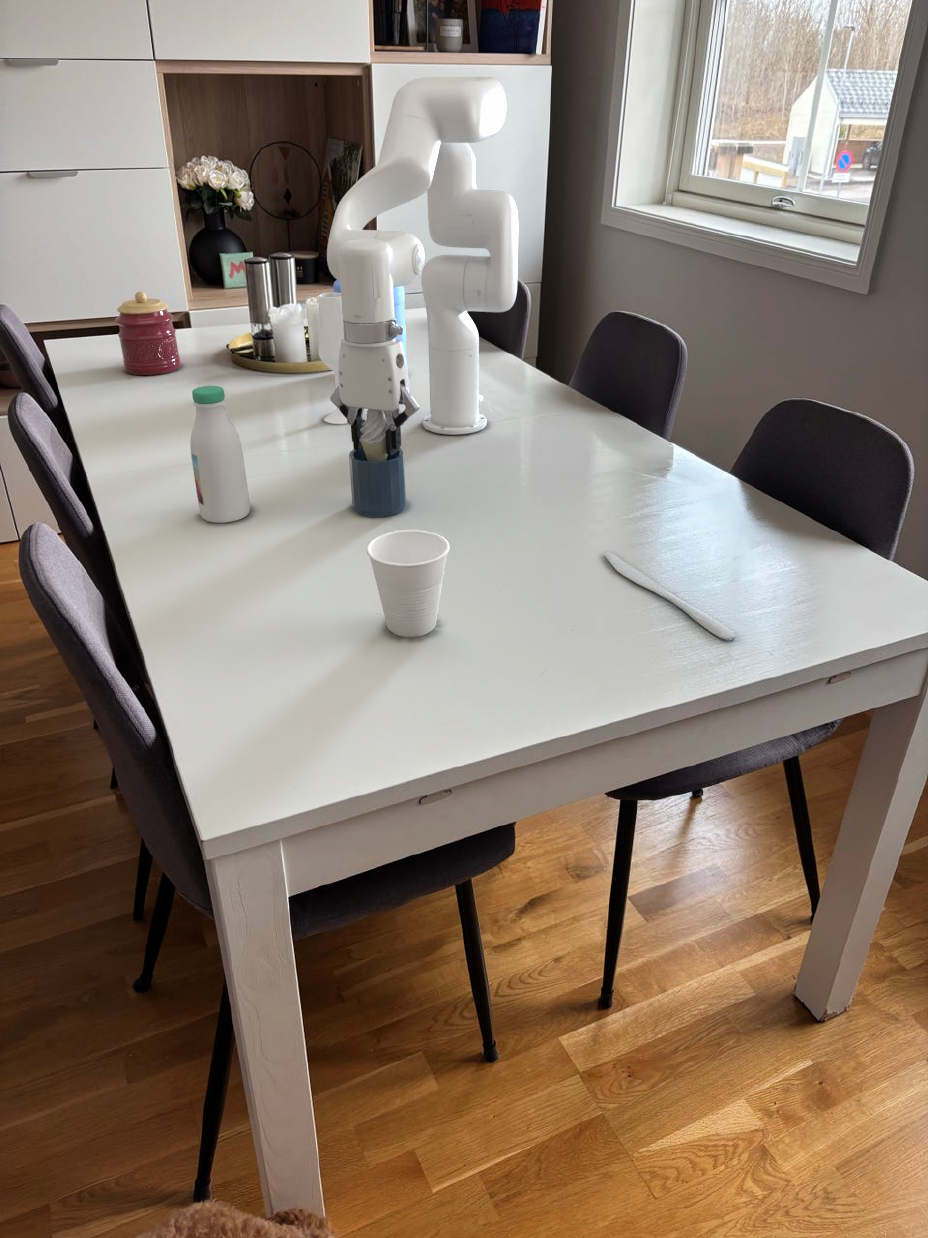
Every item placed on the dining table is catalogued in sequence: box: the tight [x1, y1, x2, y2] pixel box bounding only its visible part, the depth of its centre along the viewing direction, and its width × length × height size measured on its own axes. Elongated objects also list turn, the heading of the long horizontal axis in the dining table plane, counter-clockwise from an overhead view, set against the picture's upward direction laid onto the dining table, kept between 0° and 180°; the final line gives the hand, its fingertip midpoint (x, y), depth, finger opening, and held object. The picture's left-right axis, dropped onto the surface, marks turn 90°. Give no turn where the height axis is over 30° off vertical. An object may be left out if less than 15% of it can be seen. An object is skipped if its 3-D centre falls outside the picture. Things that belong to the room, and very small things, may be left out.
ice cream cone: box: [360, 409, 389, 462], centre depth 147 cm, size 5×5×15 cm
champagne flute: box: [318, 292, 348, 425], centre depth 186 cm, size 7×7×24 cm
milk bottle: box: [189, 385, 251, 524], centre depth 145 cm, size 8×8×20 cm
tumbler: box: [348, 447, 407, 518], centre depth 150 cm, size 8×8×9 cm
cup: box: [365, 529, 450, 638], centre depth 116 cm, size 10×10×11 cm
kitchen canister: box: [114, 291, 181, 376], centre depth 222 cm, size 13×13×18 cm
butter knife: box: [604, 552, 736, 641], centre depth 125 cm, size 1×27×3 cm
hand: (376, 448), depth 148 cm, fingers closed on ice cream cone, 5 cm apart
